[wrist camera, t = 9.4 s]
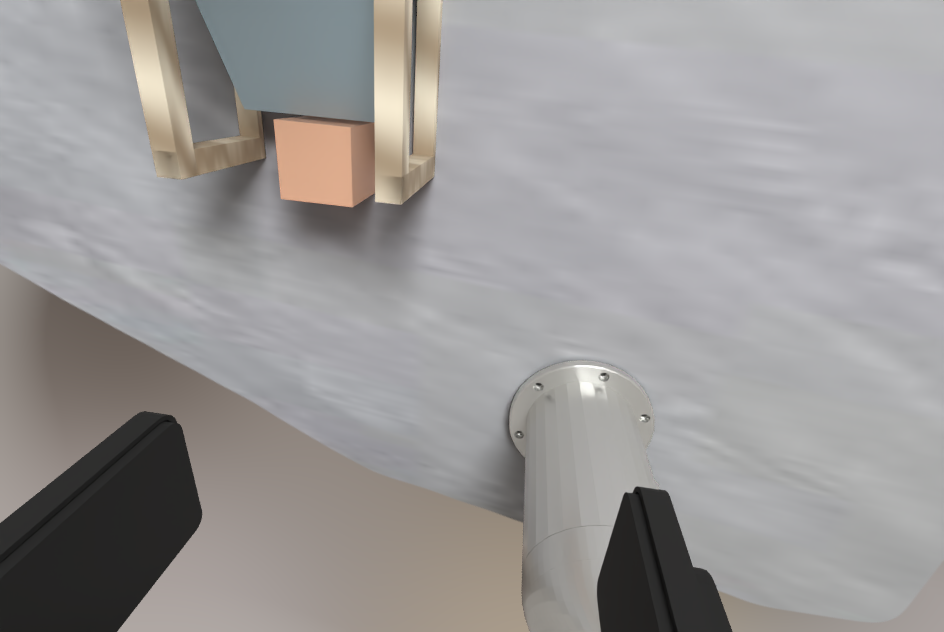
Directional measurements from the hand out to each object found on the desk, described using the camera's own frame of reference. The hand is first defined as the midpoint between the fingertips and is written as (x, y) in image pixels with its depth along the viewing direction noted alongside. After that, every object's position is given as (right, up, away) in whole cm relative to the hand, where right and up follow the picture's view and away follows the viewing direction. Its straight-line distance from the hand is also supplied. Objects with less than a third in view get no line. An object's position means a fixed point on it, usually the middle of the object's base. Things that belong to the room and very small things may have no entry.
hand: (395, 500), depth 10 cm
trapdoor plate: (-8, +21, +17) cm, 28 cm away
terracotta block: (-8, +17, +22) cm, 29 cm away
